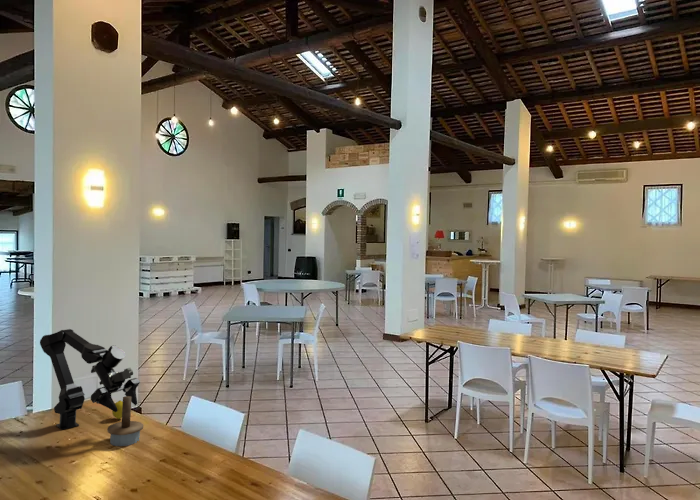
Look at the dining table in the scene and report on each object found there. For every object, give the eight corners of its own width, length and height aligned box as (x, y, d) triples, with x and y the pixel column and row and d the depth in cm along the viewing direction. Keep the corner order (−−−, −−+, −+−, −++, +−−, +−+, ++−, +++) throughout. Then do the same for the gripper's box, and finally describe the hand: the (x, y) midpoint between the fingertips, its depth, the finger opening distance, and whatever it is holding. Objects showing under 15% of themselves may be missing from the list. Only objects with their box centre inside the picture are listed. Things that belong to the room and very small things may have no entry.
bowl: (105, 440, 179) (106, 428, 179) (131, 433, 187) (132, 422, 187) (118, 448, 173) (118, 435, 173) (144, 440, 181) (145, 428, 181)
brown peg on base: (101, 434, 173) (103, 401, 173) (115, 422, 186) (117, 392, 186) (136, 435, 174) (138, 402, 174) (147, 423, 187) (149, 392, 187)
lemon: (128, 417, 204) (129, 399, 204) (121, 421, 199) (122, 402, 199) (116, 416, 205) (117, 398, 205) (109, 420, 199) (110, 401, 200)
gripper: (97, 367, 174) (118, 402, 169) (138, 357, 191) (157, 389, 187) (81, 385, 176) (101, 420, 172) (122, 374, 194) (141, 405, 189)
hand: (126, 407), depth 180 cm, fingers open, 9 cm apart
